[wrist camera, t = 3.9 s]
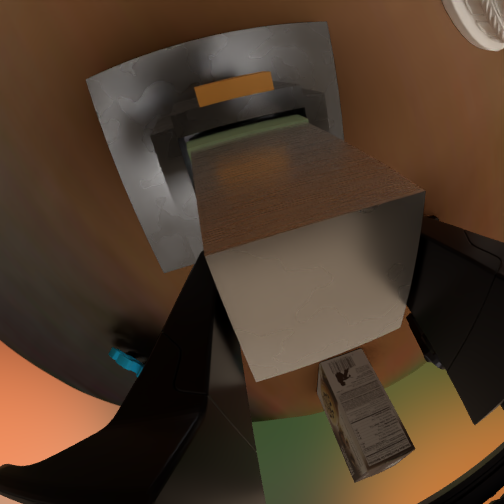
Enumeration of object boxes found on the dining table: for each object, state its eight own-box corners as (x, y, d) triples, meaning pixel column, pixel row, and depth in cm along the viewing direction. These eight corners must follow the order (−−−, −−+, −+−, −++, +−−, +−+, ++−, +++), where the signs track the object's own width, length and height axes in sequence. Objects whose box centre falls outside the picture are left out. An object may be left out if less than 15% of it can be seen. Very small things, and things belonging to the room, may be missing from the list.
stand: (316, 23, 14) (376, 12, 9) (339, 208, 23) (385, 256, 17) (93, 78, 13) (49, 85, 8) (164, 260, 22) (164, 326, 16)
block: (289, 110, 12) (428, 185, 5) (303, 200, 15) (402, 328, 8) (186, 136, 12) (197, 253, 5) (213, 226, 15) (253, 384, 8)
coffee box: (354, 378, 41) (395, 465, 28) (315, 392, 41) (352, 484, 28) (363, 346, 36) (418, 448, 23) (317, 362, 35) (366, 474, 22)
